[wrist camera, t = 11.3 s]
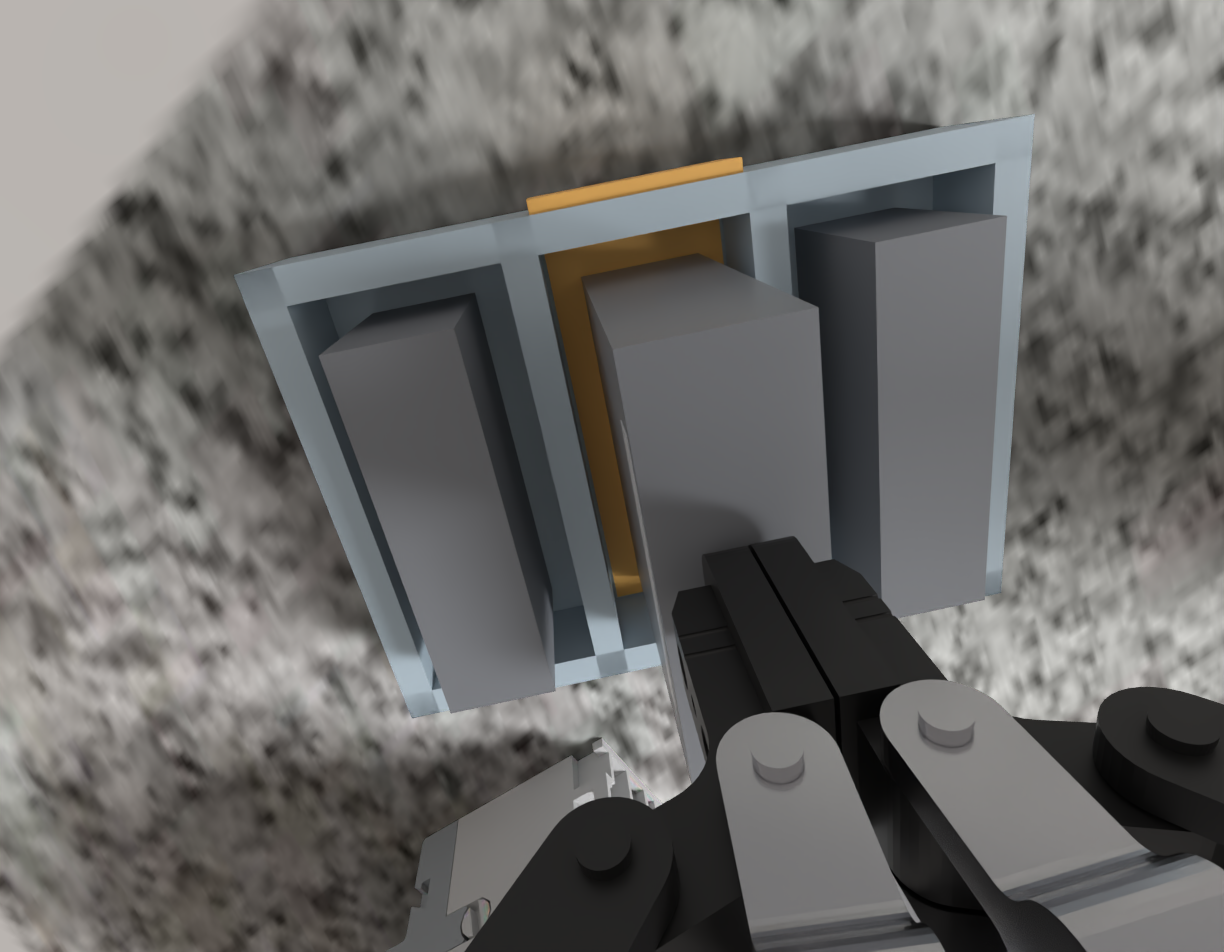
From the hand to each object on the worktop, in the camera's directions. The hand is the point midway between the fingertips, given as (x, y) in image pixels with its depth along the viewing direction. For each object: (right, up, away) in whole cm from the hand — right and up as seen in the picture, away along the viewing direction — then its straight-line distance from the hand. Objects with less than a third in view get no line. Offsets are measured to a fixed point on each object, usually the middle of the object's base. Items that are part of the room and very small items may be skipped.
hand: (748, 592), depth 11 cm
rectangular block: (-1, +3, +8) cm, 8 cm away
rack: (-1, +4, +9) cm, 9 cm away
